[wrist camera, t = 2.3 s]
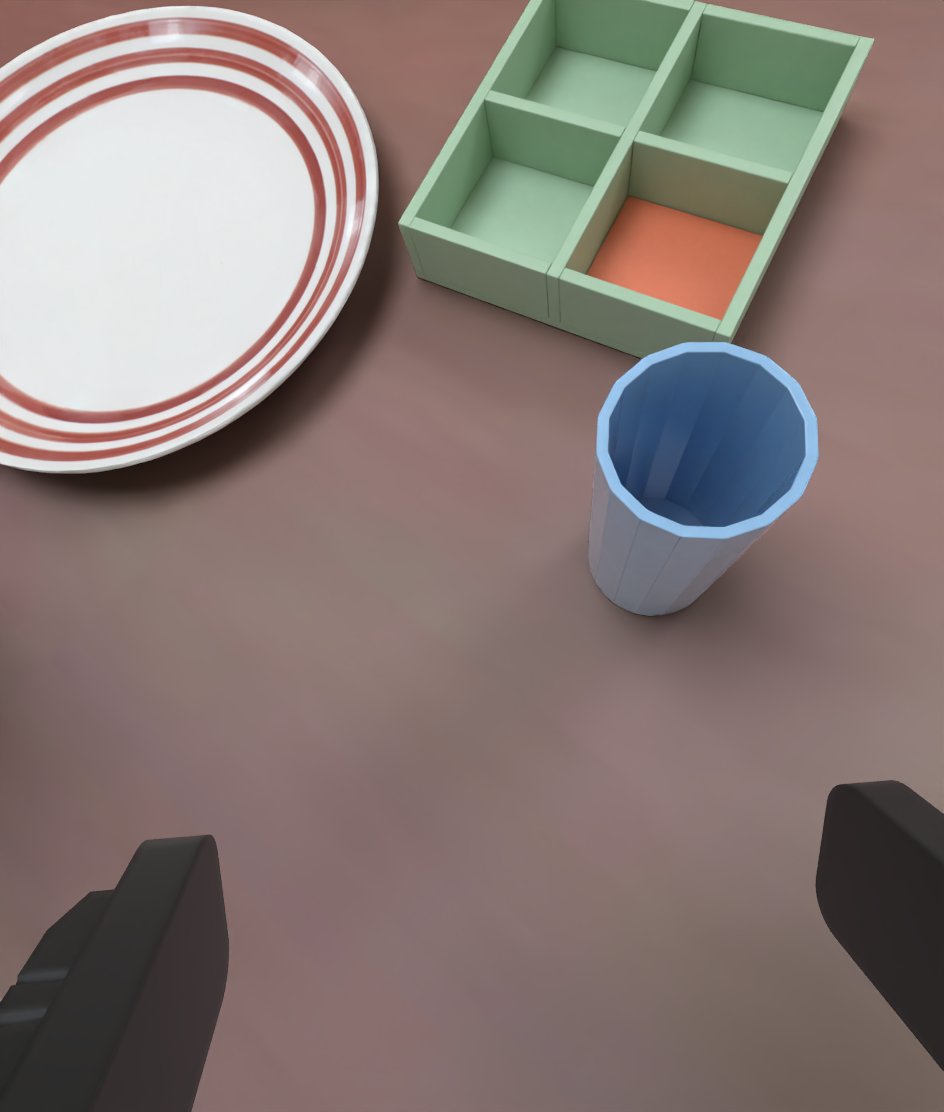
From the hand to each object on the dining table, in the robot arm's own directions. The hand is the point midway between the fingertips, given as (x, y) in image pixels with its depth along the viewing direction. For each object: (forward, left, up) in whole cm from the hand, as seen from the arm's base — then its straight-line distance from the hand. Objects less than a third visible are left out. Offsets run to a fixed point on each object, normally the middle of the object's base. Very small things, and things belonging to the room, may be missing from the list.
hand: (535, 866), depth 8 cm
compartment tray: (-9, +25, -18) cm, 33 cm away
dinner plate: (-31, +13, -18) cm, 39 cm away
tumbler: (0, +9, -18) cm, 21 cm away
